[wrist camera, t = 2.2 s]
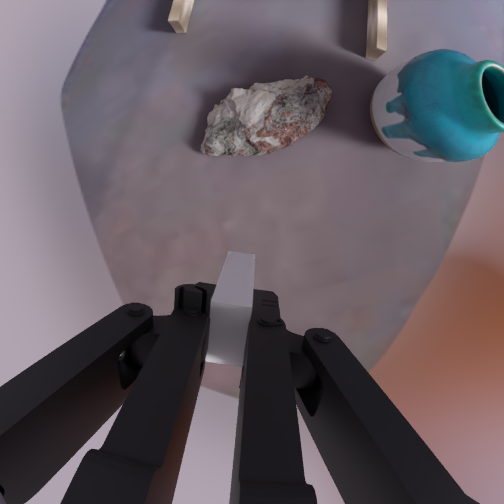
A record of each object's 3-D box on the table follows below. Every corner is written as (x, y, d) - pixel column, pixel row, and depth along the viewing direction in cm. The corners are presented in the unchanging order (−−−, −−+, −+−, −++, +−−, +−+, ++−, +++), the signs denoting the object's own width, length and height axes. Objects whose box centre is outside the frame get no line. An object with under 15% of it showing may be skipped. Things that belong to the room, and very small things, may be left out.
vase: (360, 158, 33) (455, 160, 15) (354, 74, 30) (433, 8, 12) (434, 162, 32) (544, 175, 14) (428, 84, 29) (528, 50, 11)
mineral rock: (207, 164, 34) (200, 165, 30) (196, 100, 32) (188, 92, 27) (333, 146, 33) (343, 144, 29) (322, 82, 31) (330, 72, 26)
